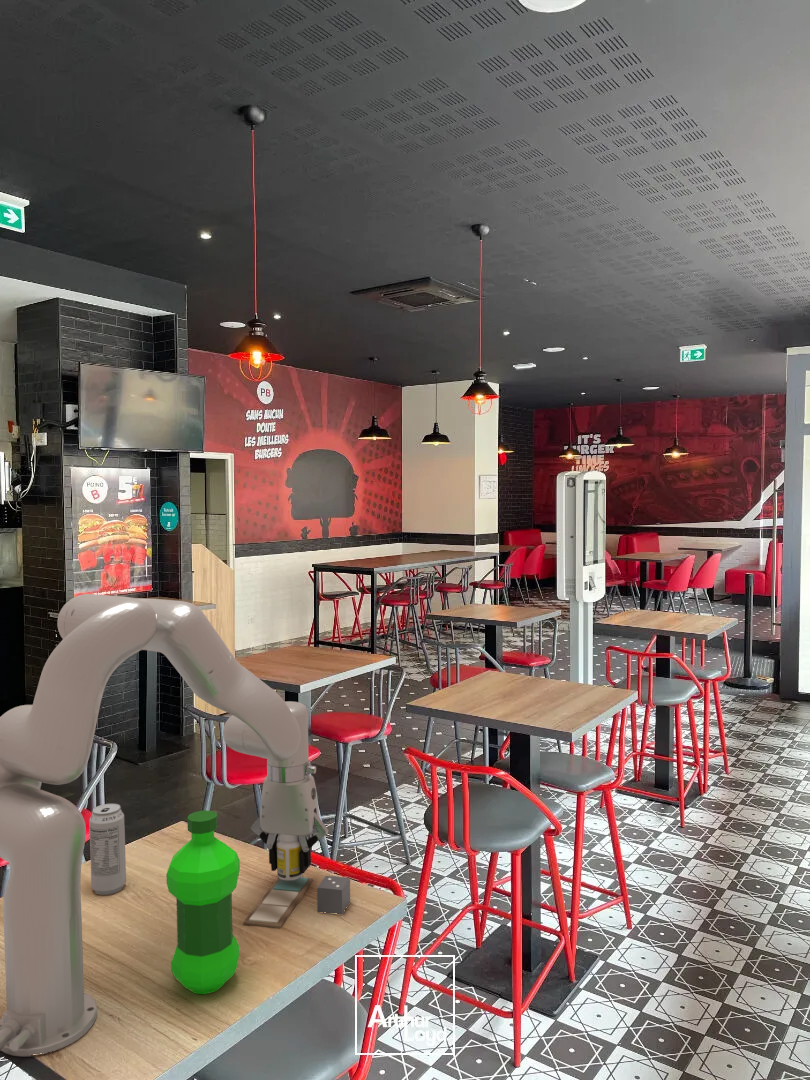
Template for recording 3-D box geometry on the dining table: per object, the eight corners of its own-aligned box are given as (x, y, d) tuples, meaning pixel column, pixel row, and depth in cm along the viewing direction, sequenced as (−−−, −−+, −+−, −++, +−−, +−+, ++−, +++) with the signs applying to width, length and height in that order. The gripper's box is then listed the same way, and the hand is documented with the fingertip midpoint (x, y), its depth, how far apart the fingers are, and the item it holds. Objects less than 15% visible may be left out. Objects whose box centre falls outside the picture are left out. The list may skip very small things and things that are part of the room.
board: (280, 928, 132) (280, 924, 132) (243, 924, 133) (243, 920, 133) (313, 880, 149) (313, 876, 149) (280, 877, 150) (280, 873, 150)
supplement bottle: (306, 869, 148) (305, 825, 148) (300, 881, 144) (299, 835, 143) (280, 869, 149) (279, 824, 149) (274, 880, 144) (273, 835, 144)
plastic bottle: (219, 955, 124) (215, 797, 123) (255, 984, 117) (251, 816, 115) (158, 981, 118) (153, 815, 116) (192, 1014, 110) (187, 836, 109)
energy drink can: (132, 881, 150) (129, 802, 149) (117, 897, 144) (114, 815, 143) (101, 880, 150) (98, 802, 150) (85, 895, 144) (82, 814, 144)
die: (342, 915, 136) (341, 889, 136) (317, 913, 137) (316, 886, 137) (350, 902, 140) (349, 877, 140) (326, 900, 141) (325, 874, 141)
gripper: (338, 766, 147) (340, 863, 148) (252, 762, 151) (254, 856, 152) (326, 780, 140) (328, 882, 141) (236, 775, 144) (238, 874, 144)
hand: (290, 867), depth 146 cm, fingers closed on supplement bottle, 4 cm apart
